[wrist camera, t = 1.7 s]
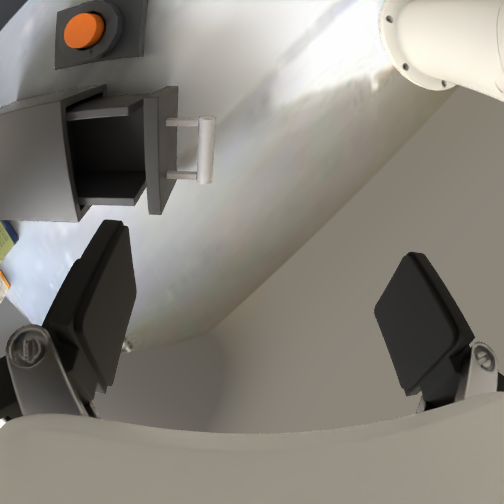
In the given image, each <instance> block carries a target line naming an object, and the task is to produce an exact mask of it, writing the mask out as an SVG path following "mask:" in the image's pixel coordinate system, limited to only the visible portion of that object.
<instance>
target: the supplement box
mask: <svg viewBox="0 0 504 504" xmlns="http://www.w3.org/2000/svg"><path fill="white" fill-rule="evenodd" d="M9 289H10V285H9V284H8V282H7V280H6V279H5V277H4V276H3V274H2V272H1V271H0V303H1V302H2V300H3V298H4V297H5V295H6V293H7V292H8V290H9Z"/></svg>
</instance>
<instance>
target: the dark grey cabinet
mask: <svg viewBox="0 0 504 504" xmlns="http://www.w3.org/2000/svg"><path fill="white" fill-rule="evenodd" d="M99 97H106V84H101V85H93V86H86V87H80V88H74V89H68V90H62V91H57V92H52V93H48V94H43V95H39V96H34V97H30V98H26V99H23V100H19V101H16V102H13V103H11V104H9V105H6V106H4V107H2V108H0V220H20V221H53V222H79V221H80V220H81V219H82V218H83V216H84V215H85V214H86V212H87V211H88V210H89V208H90V207H91V206H92V205H79V202H78V197H77V192H76V187H75V181H74V176H73V169H72V163H71V156H70V149H69V141H68V132H67V121H66V109H65V107H67V106H70V105H72V104H74V103H77V102H79V101H81V100H84V99H91V98H99Z"/></svg>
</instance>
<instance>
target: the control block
mask: <svg viewBox="0 0 504 504" xmlns="http://www.w3.org/2000/svg"><path fill="white" fill-rule="evenodd" d="M147 4H148V0H94V1H90V2H86V3H82V4H81V5H79V6H76V7H72V8H69V9H66V10H62V11H59V12H57V23H56V39H55V70H57V69H61V68H66V67H70V66H75V65H80V64H86V63H92V62H98V61H104V60H111V59H119V58H128V57H139V56H143V52H144V36H145V24H146V14H147ZM81 13H90V14H96V15H99V16H100V17H101V18H102V19H103V21H104V32H103V34H102V36H101V38H100V39H99V40H98V41H97V42H96V43H95V44H94V45H92V46H90V47H86V48H71V47H69V46H68V45H67V44H66V42H65V39H64V31H65V28H66V26H67V24H68V23H69V21H70V20H71V19H72V18H73V17H75V16H76V15H78V14H81Z"/></svg>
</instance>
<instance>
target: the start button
mask: <svg viewBox="0 0 504 504" xmlns="http://www.w3.org/2000/svg"><path fill="white" fill-rule="evenodd" d="M103 32H104V21H103V19H102V18H101V17H100V16H99V15H96V14H90V13H81V14H78V15H76V16H75V17H73V18H72V19H71V20H70V21H69V23H68V24H67V26H66V28H65V31H64V39H65V42H66V44H67V45H68V46H69V47H71V48H86V47H90V46H92V45H94V44H95V43H96V42H97V41H98V40H99V39H100V38H101V36H102V34H103Z"/></svg>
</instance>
